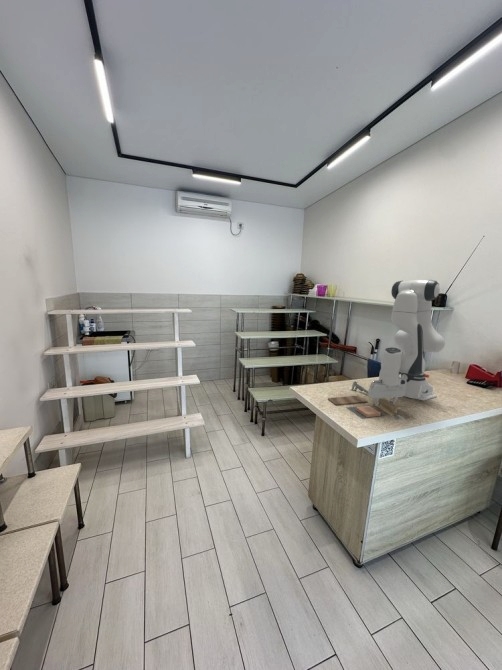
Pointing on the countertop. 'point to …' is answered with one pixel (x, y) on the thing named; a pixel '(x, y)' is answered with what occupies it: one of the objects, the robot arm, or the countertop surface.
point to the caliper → (359, 387)
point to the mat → (360, 413)
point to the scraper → (389, 408)
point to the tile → (368, 411)
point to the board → (347, 400)
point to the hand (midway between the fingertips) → (384, 405)
